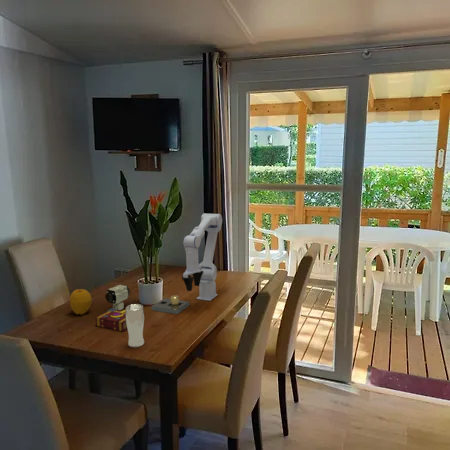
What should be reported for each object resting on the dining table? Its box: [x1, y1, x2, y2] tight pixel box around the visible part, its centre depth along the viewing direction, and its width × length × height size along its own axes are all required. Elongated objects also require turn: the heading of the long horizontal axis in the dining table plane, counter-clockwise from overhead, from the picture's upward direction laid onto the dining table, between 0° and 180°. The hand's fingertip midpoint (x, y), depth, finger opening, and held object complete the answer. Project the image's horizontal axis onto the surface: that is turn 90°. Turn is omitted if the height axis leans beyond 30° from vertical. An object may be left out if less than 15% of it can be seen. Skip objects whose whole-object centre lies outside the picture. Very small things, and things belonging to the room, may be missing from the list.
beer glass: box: [125, 303, 145, 348], centre depth 154 cm, size 7×7×15 cm
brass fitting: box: [170, 294, 180, 307], centre depth 191 cm, size 4×4×6 cm
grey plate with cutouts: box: [151, 297, 190, 315], centre depth 192 cm, size 12×14×2 cm
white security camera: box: [104, 284, 131, 311], centre depth 190 cm, size 6×12×12 cm, turn 149°
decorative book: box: [94, 307, 128, 332], centre depth 174 cm, size 11×16×5 cm
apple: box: [69, 288, 93, 315], centre depth 186 cm, size 10×10×12 cm
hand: (193, 288), depth 190 cm, fingers open, 7 cm apart
